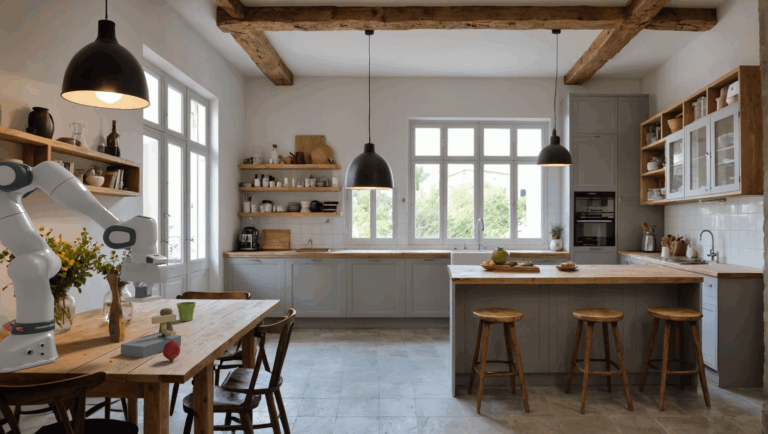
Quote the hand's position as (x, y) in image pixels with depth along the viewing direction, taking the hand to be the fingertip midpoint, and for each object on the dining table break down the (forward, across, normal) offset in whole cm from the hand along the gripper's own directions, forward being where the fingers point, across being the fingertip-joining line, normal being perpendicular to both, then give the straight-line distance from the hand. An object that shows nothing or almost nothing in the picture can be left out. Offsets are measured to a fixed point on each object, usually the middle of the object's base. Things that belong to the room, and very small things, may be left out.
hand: (143, 294), depth 183 cm
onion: (+23, +18, -4) cm, 29 cm away
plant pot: (+23, -27, +54) cm, 65 cm away
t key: (+18, +3, +10) cm, 21 cm away
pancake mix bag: (+23, -28, +13) cm, 39 cm away
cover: (+2, 0, 0) cm, 2 cm away
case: (+22, 0, +5) cm, 23 cm away
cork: (+23, -16, +29) cm, 40 cm away
